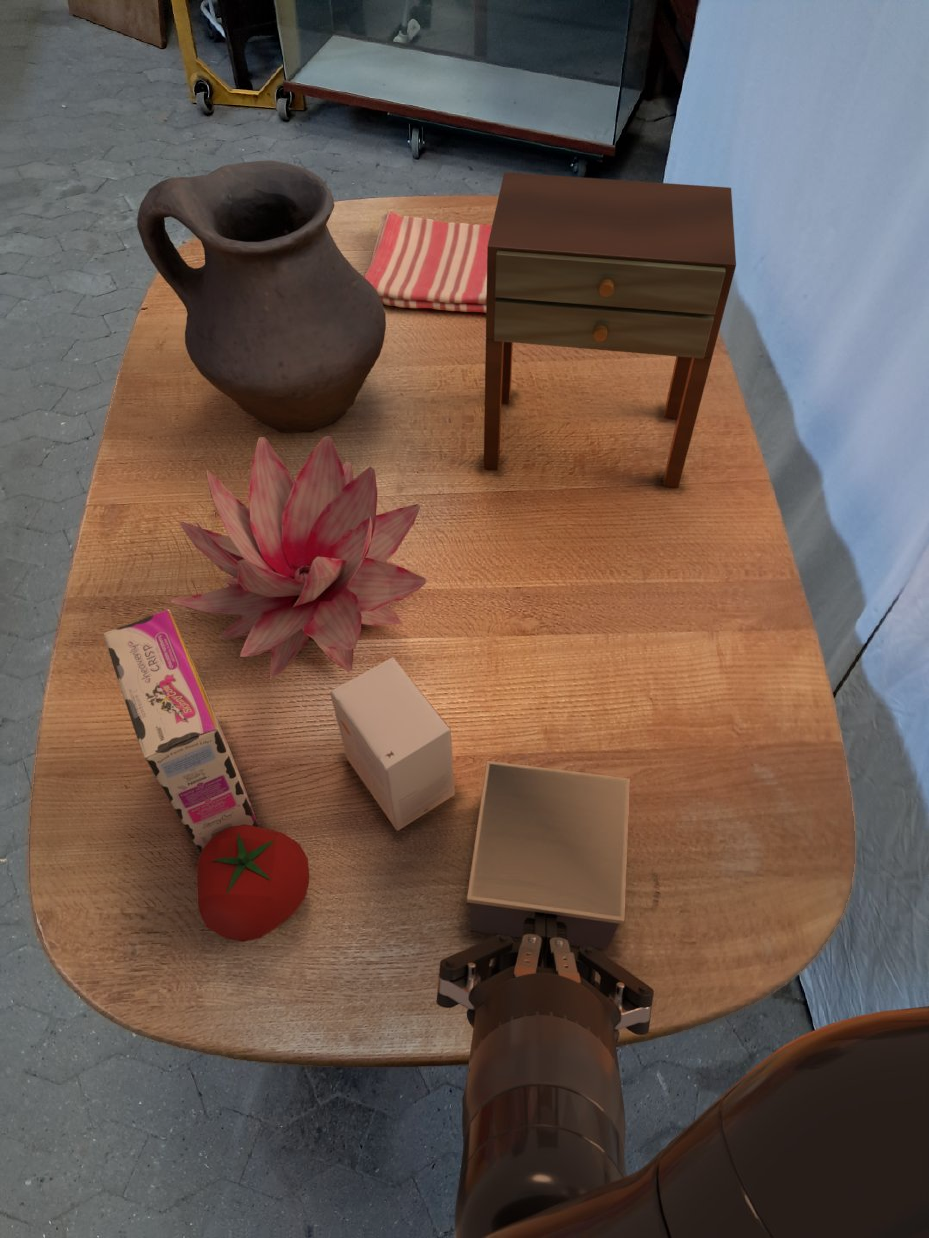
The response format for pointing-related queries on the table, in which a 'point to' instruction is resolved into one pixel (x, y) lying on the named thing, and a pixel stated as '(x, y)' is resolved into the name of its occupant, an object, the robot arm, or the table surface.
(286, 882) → the tomato
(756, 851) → the table surface
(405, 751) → the small box
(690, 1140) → the robot arm
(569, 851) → the storage box
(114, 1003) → the table surface
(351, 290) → the pitcher
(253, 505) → the decorative flower
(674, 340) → the drawer unit
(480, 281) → the dish towel
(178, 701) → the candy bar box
